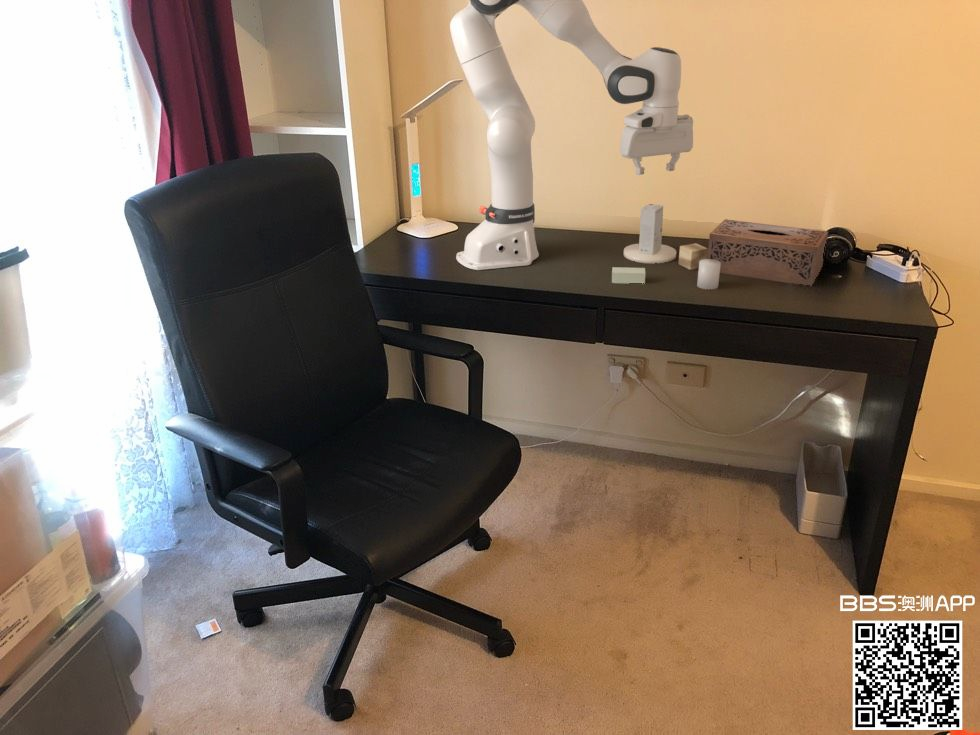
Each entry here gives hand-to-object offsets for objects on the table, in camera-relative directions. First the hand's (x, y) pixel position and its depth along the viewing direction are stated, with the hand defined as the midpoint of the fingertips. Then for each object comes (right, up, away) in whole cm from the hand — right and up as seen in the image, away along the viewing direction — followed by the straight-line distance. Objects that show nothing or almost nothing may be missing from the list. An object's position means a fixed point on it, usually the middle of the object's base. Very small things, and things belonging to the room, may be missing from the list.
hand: (655, 172), depth 207 cm
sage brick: (-8, -29, -7) cm, 31 cm away
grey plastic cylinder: (+10, -31, -12) cm, 34 cm away
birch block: (+10, -24, +2) cm, 26 cm away
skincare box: (0, -19, +9) cm, 21 cm away
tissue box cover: (+27, -26, -2) cm, 38 cm away
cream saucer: (+1, -20, +10) cm, 22 cm away
